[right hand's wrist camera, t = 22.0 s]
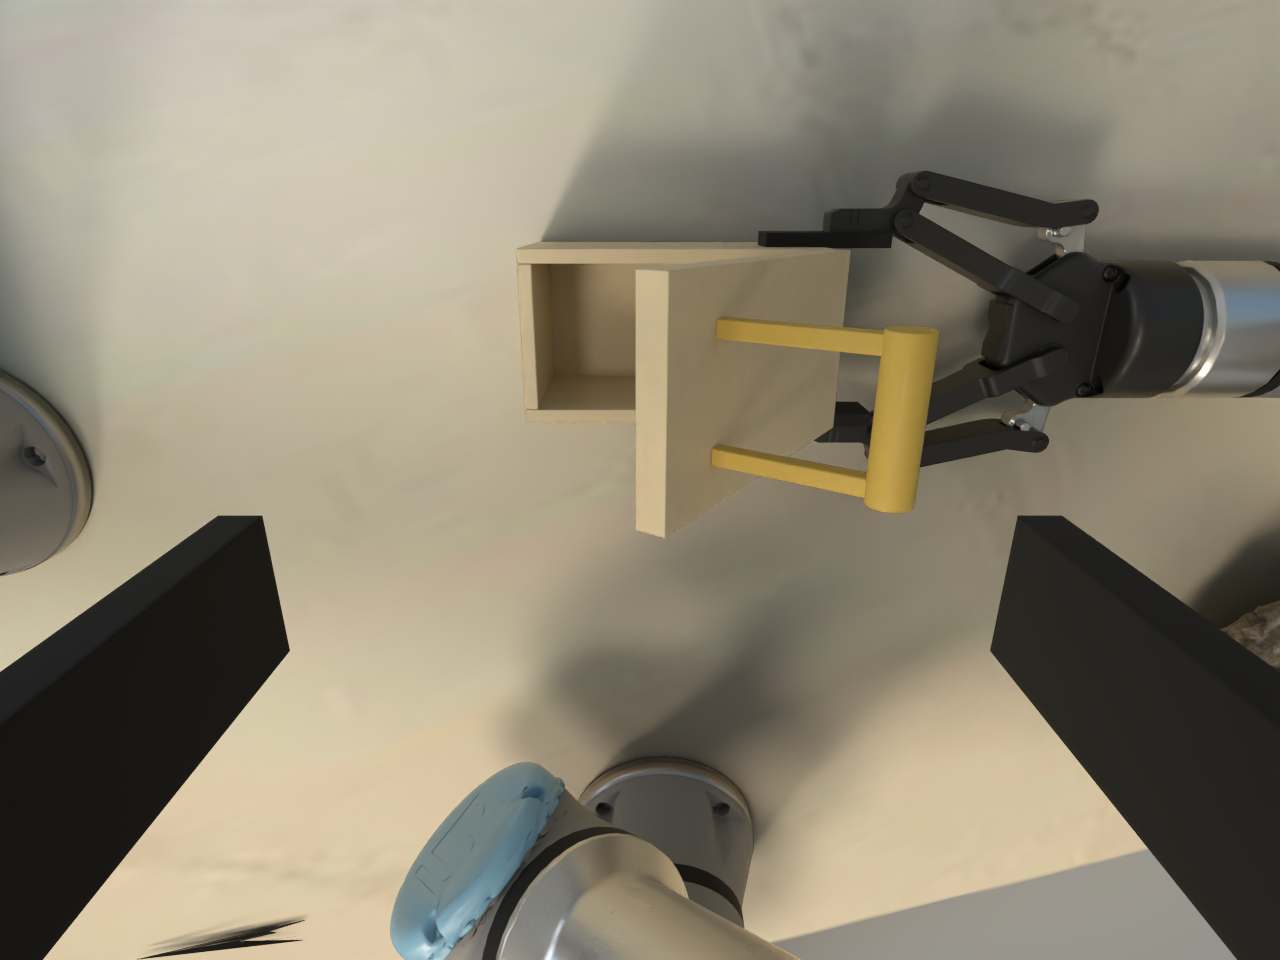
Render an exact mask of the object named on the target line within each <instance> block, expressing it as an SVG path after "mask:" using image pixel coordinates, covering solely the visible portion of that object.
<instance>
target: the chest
mask: <svg viewBox="0 0 1280 960" xmlns="http://www.w3.org/2000/svg"><path fill="white" fill-rule="evenodd" d="M823 249H832V248H826V247H763V246H760V245H758V242H537V243H533V244H530V245H527V246H523V247H520V248H517V249H516V259H517V263H518V264H517V276H518V293H519V311H520V328H521V346H522V364H523V381H524V399H525V409H526V410H525V418H526V423H636V269H639V268H649V267H658V266H668V265H678V264H687V263H697V262H707V261H716V260H726V259H736V258H746V257H755V256H765V255H775V254H784V253H794V252H804V251H813V250H823Z"/></svg>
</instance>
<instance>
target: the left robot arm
mask: <svg viewBox="0 0 1280 960" xmlns="http://www.w3.org/2000/svg"><path fill="white" fill-rule="evenodd" d="M896 189H897V190H896V192H895V194H894V196H893V198H892V200H891V202H890V203H889V204H888V205H887V206H885V207H883V208H881V209H832V210H830V211H828V212H825V213H824V223H823V231H759V234H758V245H760V246H763V247H826V248H891V243H892V236H894V237H896V238H897V239H899V240H901V241H903V242H904V243H906V244H908V245H910V246H911V247H913V248H915V249H917V250H919V251H920V252H922V253H924V254H926V255H927V256H929V257H931V258H933V259H934V260H936V261H938V262H940V263H942V264H943V265H945V266H947V267H949V268H950V269H952V270H954V271H956V272H957V273H959V274H961V275H963V276H965V277H966V278H968V279H970V280H972V281H973V282H975V283H976V284H977V285H978V286H980V287H982V288H983V289H985V290H987V291H989V292H990V293H992V294H994V295H996V298H995V300H990V305H989V310H988V320H989V329H988V332H987V334H986V336H985V339H984V341H983V346H982V352H981V355H983V357H981V358H979V359H977V360H975V361H972V362H970V363H968V364H966V365H965V366H964V367H963V369H962V370H960V371H958V372H956V373H954V374H951V375H949V376H947V377H945V378H943V379H941V380H938V381H936V382H934V383H932V388H931V395H930V401H929V408H928V415H927V422H926V425H927V424H929V423H931V422H933V421H935V420H938V419H940V418H942V417H944V416H947V415H949V414H951V413H953V412H955V411H958V410H960V409H962V408H964V407H967V406H969V405H971V404H973V403H975V402H978V401H980V400H982V399H984V398H988V397H997V396H1000V395H1002V394H1004V393H1007V392H1009V391H1011V390H1013V389H1014V390H1016V391H1017V392H1018V393H1019V394H1020V395H1022V396H1023V397H1024V398H1025V399H1026V402H1025V404H1024V405H1023V406H1022V407H1020V408H1019V409H1015V410H1010V411H1008V412H1004V413H1003V414H1002V415H1001V419H995V418H994V419H982V420H977V421H972V422H967V423H962V424H958V425H953V426H948V427H944V428H939V429H934V430H929V431H925V435H924V442H923V449H922V455H921V462H920V467H924V466H929V465H933V464H938V463H943V462H948V461H953V460H958V459H962V458H967V457H972V456H977V455H982V454H986V453H991V452H996V451H1001V450H1006V449H1009V450H1018V451H1026V452H1034V453H1037V452H1041V451H1043V450H1044V449H1046V448H1047V446H1048V444H1049V439H1048V436H1047V435H1046V434H1044V433H1042V430H1043V427H1044V424H1045V421H1046V418H1047V415H1048V412H1049V409H1050V406H1055V405H1057V404H1059V403H1061V402H1063V401H1066V400H1068V399H1072V398H1149V397H1153V396H1156V397H1158V398H1229V397H1267V398H1280V262H1269V261H1178V262H1175V263H1174V262H1171V261H1108V260H1096V259H1094V258H1093V257H1091V256H1090V255H1088V254H1086V253H1084V252H1083V251H1084V240H1085V230H1086V224H1088V223H1091V222H1092V221H1093V220H1095V218H1096V217H1097V215H1098V212H1099V207H1098V204H1097V203H1096V202H1095V201H1094V200H1060V201H1052V202H1046V201H1042V200H1038V199H1034V198H1030V197H1026V196H1023V195H1019V194H1015V193H1011V192H1007V191H1003V190H999V189H995V188H992V187H988V186H984V185H980V184H976V183H972V182H968V181H965V180H961V179H957V178H953V177H949V176H945V175H941V174H937V173H934V172H930V171H920V172H913V173H907V174H904V175H902V176H901V177H900V178H899V179H898V181H897V184H896ZM924 202H925V203H929V204H932V205H936V206H940V207H944V208H948V209H952V210H956V211H960V212H964V213H968V214H972V215H976V216H980V217H983V218H987V219H991V220H995V221H999V222H1003V223H1007V224H1011V225H1016V226H1021V227H1037V229H1036V233H1037V235H1038V238H1039V239H1040V240H1041V241H1044V242H1050V243H1051V244H1053V245H1054V247H1055V251H1056V253H1055V254H1053V255H1052V256H1050V257H1049V258H1047V259H1045V260H1044V261H1042V262H1041V263H1039V264H1038V265H1036V266H1035V267H1033V268H1032V269H1030V270H1029V271H1027V272H1026V273H1024V272H1022V271H1021V270H1018V269H1016V268H1013V267H1011V266H1009V265H1007V264H1005V263H1003V262H1002V261H1000V260H998V259H996V258H995V257H993V256H991V255H990V254H988V253H986V252H984V251H983V250H981V249H979V248H977V247H976V246H974V245H972V244H970V243H969V242H967V241H965V240H963V239H962V238H960V237H958V236H956V235H955V234H953V233H951V232H950V231H948V230H946V229H944V228H943V227H941V226H939V225H937V224H936V223H934V222H932V221H930V220H929V219H927V218H925V217H923V216H922V215H920V214H919V212H920V210H921V208H922V206H923V204H924ZM873 416H874V410H873V411H871V412H869V411H867V410H866V409H865V408H864V407H863V406H862V405H861V404H859V403H858V402H836V403H835V413H834V423H833V428H832V429H830V430H828V431H827V432H825V433H824V434H822V435H821V436H819V437H818V438H816V439H815V440H814V441H817V442H859V443H863V444H864V448H865V453H864V454H865V457H866V458H867V459H868V458H869V449H870V441H871V433H872V425H873ZM564 787H565V785H564V782H563V780H562V779H561V778H556V777H554V776H553V775H552V774H551V773H549V772H548V771H547V770H546V769H544V768H543V767H542V766H540V765H539V764H536V763H531V762H523V763H518V764H514V765H511V766H509V767H507V768H505V769H503V770H501V771H499V772H497V773H496V774H494V775H493V776H491V777H490V778H488V779H487V780H486V781H485V782H484V783H482V784H481V785H479V786H478V787H477V788H476V789H474V790H473V791H472V792H471V793H470V794H469V795H468V796H467V797H466V798H465V799H464V800H463V801H462V802H461V803H460V804H459V805H458V806H457V807H456V808H455V809H454V810H453V811H452V812H451V813H450V814H449V816H448V817H447V818H446V819H445V820H444V821H443V823H442V824H441V825H440V826H439V827H438V829H437V830H436V831H435V833H434V834H433V835H432V837H431V838H430V839H429V841H428V842H427V843H426V845H425V846H424V848H423V849H422V851H421V852H420V854H419V855H418V857H417V858H416V860H415V862H414V863H413V865H412V867H411V868H410V870H409V872H408V874H407V876H406V878H405V881H404V883H403V885H402V886H401V888H400V891H399V893H398V895H397V898H396V901H395V904H394V907H393V911H392V916H391V923H390V933H391V940H392V943H393V946H394V948H395V949H396V951H397V952H398V954H399V955H400V956H401V957H402V958H403V959H404V960H801V959H799V958H797V957H796V956H794V955H792V954H790V953H788V952H786V951H784V950H783V949H781V948H779V947H777V946H775V945H773V944H771V943H770V942H768V941H766V940H764V939H762V938H760V937H758V936H757V935H755V934H753V933H751V932H749V931H747V930H745V929H744V922H743V915H742V903H743V898H744V893H745V888H746V883H747V878H748V873H749V868H750V863H751V858H752V854H753V847H754V837H753V830H752V825H751V819H750V814H749V810H748V807H747V805H746V802H745V800H744V798H743V796H742V795H741V794H740V792H739V791H738V789H737V788H736V787H735V786H734V785H733V784H732V783H731V782H730V781H729V780H728V779H727V778H725V777H724V776H723V775H721V774H720V773H718V772H716V771H715V770H713V769H711V768H709V767H707V766H704V765H702V764H699V763H696V762H692V761H689V760H684V759H678V758H666V757H659V758H646V759H640V760H635V761H632V762H628V763H625V764H623V765H620V766H617V767H615V768H613V769H611V770H609V771H608V772H606V773H604V774H603V775H601V776H600V777H599V778H597V779H596V780H595V781H594V782H593V783H592V784H590V786H589V787H588V788H587V789H586V790H585V791H584V793H583V794H582V795H581V797H580V799H579V801H577V800H576V799H575V798H574V797H573V796H572V795H571V794H570V793H569V792H568V791H567V790H566V789H565V788H564Z"/></svg>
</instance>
